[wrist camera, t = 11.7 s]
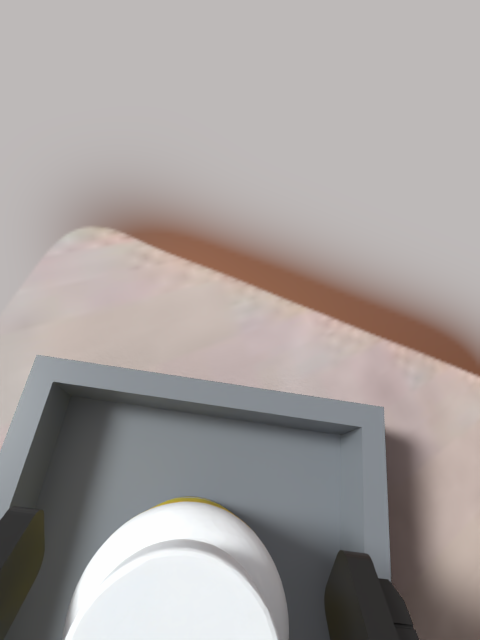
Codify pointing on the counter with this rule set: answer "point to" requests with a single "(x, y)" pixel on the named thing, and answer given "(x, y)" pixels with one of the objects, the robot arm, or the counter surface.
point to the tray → (192, 475)
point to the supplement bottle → (180, 580)
